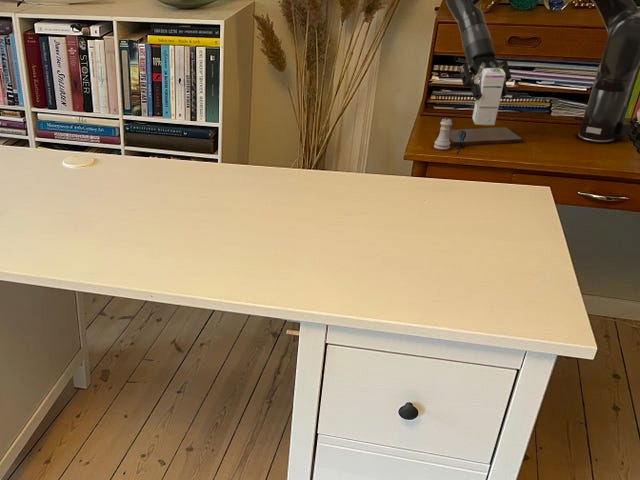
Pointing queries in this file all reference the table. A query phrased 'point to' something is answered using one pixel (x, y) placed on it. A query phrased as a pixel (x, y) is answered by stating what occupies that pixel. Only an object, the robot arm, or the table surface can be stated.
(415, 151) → the table surface
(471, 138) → the grey rectangular panel
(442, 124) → the rook chess piece
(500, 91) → the syrup box
